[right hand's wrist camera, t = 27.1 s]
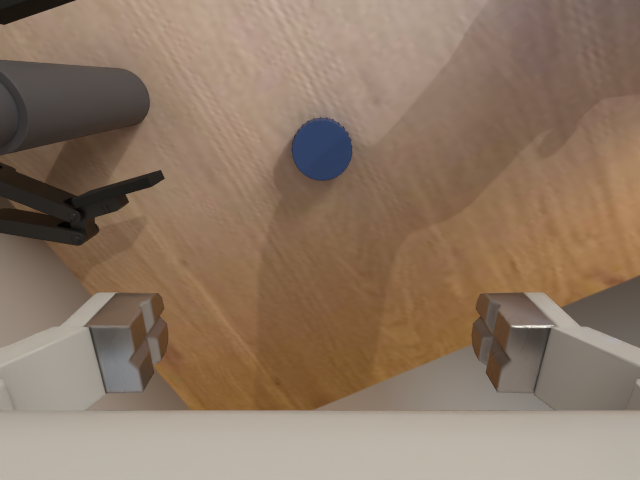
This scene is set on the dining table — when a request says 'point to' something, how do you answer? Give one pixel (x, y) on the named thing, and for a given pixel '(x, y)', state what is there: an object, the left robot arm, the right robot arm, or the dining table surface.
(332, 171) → the lid
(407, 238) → the dining table surface
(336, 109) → the dining table surface
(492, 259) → the dining table surface
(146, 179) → the left robot arm
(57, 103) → the gray bottle
